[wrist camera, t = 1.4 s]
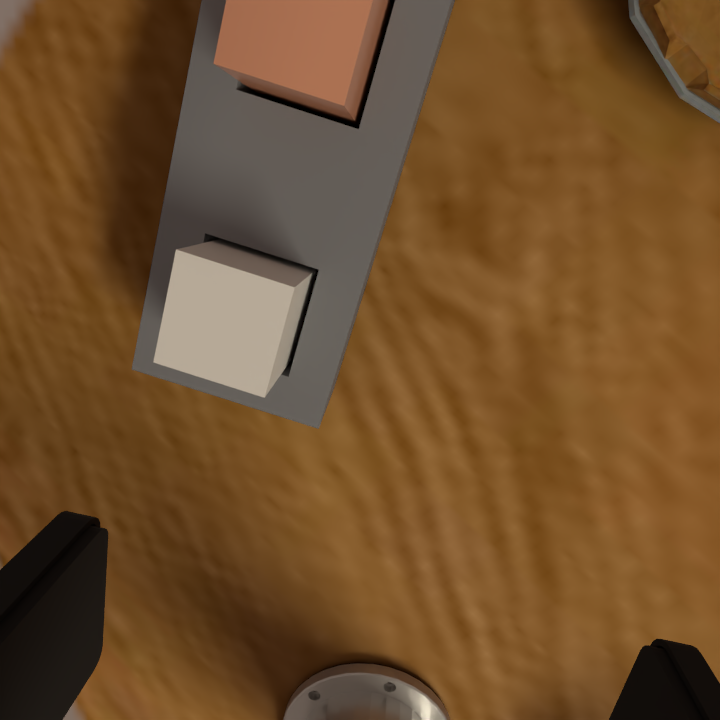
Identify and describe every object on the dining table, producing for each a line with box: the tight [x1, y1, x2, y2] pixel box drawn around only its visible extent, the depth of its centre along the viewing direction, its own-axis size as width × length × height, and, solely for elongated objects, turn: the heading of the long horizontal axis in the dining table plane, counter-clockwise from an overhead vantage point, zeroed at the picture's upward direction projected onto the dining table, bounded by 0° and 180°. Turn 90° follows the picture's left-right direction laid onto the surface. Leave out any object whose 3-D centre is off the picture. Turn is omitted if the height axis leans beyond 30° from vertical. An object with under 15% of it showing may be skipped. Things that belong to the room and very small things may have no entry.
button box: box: [132, 0, 455, 429], centre depth 28 cm, size 22×10×6 cm, turn 163°
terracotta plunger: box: [213, 0, 391, 125], centre depth 22 cm, size 5×5×6 cm
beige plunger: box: [153, 239, 317, 398], centre depth 26 cm, size 5×5×6 cm
